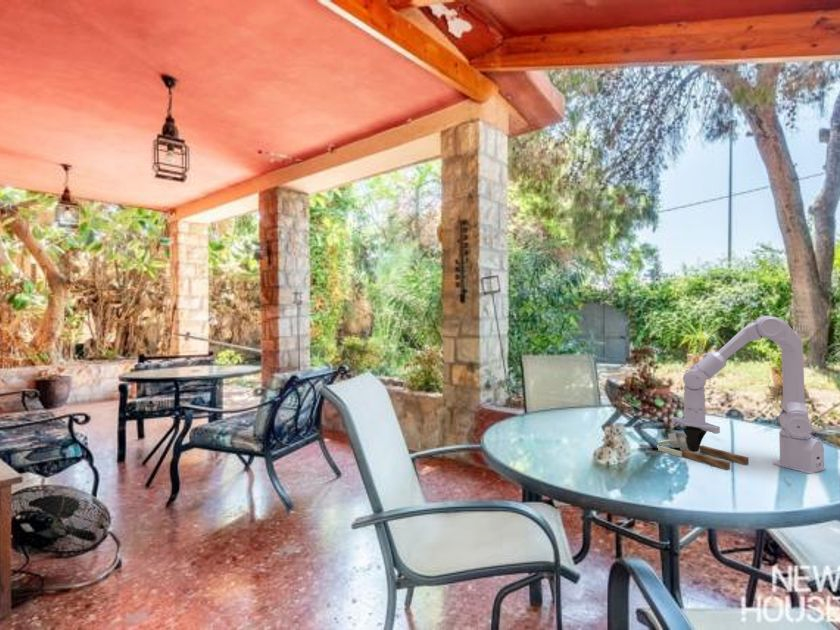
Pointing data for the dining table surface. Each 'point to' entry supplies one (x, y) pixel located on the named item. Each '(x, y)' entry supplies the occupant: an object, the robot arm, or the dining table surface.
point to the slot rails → (715, 453)
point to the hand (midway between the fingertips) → (695, 451)
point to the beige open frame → (668, 450)
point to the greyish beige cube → (675, 439)
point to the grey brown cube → (685, 444)
